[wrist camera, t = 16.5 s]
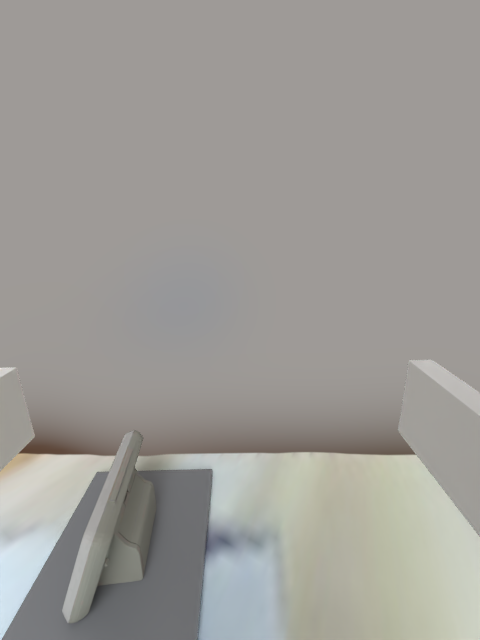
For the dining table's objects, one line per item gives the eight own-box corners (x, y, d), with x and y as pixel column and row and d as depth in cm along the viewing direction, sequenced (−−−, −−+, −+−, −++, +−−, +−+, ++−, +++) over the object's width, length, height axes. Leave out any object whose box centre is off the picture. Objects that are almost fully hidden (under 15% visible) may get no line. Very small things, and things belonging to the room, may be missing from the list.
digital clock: (116, 487, 44) (106, 425, 41) (175, 491, 43) (169, 428, 40) (32, 625, 29) (6, 542, 26) (122, 636, 28) (106, 552, 25)
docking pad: (212, 474, 47) (211, 467, 47) (191, 703, 24) (190, 694, 24) (98, 477, 47) (96, 470, 47) (-32, 711, 24) (-36, 701, 24)
